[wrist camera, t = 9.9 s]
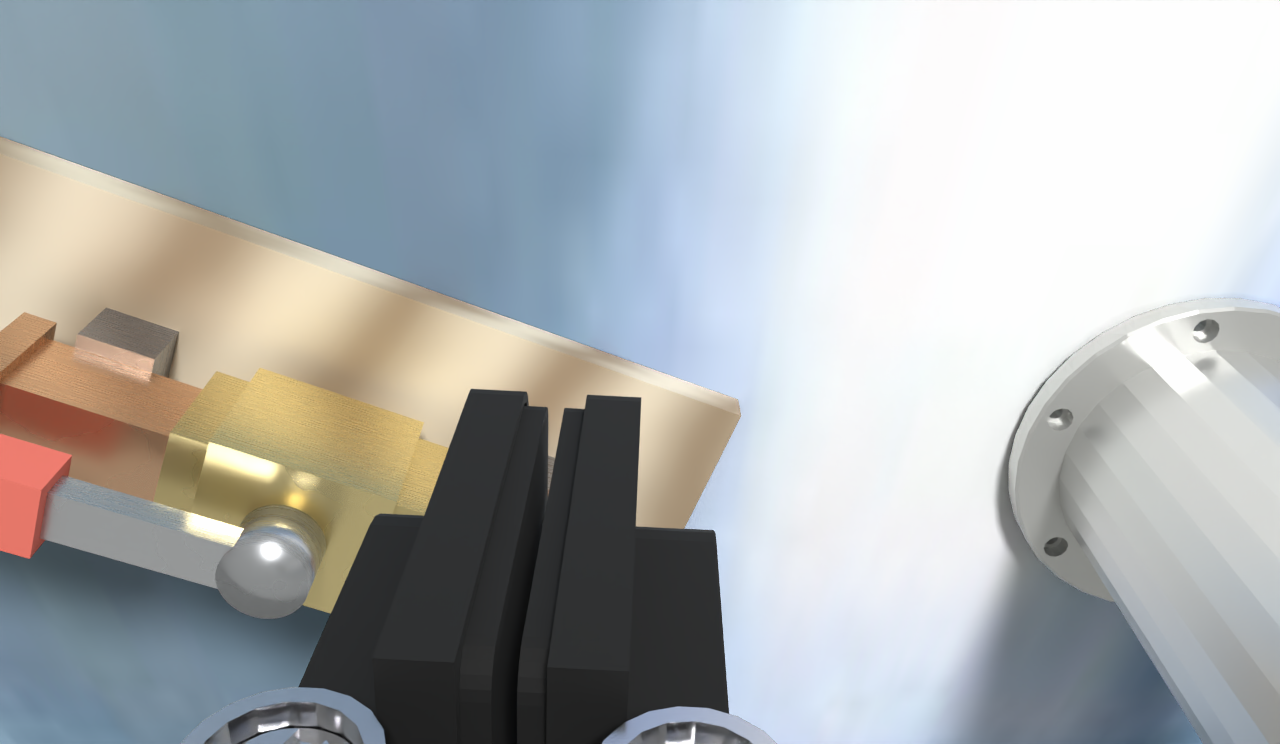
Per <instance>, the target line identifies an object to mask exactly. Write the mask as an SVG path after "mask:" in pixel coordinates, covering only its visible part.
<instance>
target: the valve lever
mask: <svg viewBox="0 0 1280 744" xmlns="http://www.w3.org/2000/svg"><path fill="white" fill-rule="evenodd" d="M71 459H72V455H70V454H67V453H63V452H60V451H57V450H53V449H50V448H47V447H43V446H40V445H37V444H33V443H30V442H27V441H23V440H20V439H16V438H13V437H10V436H6V435H3V434H0V551H3V552H7V553H11V554H14V555H18V556H21V557H25V558H28V559H30V558H31V557H32V556H33V554H34V553H35V552H36V551H37V550H38V548H39V547H40V546H41V545H42V543H43V542H44V541H45V540H48V541H51V542H55V543H58V544H62V545H65V546H69V547H72V548H76V549H79V550H83V551H86V552H90V553H93V554H97V555H100V556H104V557H107V558H111V559H114V560H118V561H121V562H125V563H128V564H132V565H135V566H139V567H142V568H146V569H149V570H153V571H156V572H160V573H163V574H167V575H171V576H174V577H178V578H181V579H185V580H188V581H192V582H195V583H199V584H202V585H206V586H209V587H213V588H216V589H218V590H219V592H220V594H221V595H222V597H223V598H224V599H225V600H226V602H227V603H229V604H230V605H231V606H232V607H233V608H235V609H236V610H238V611H240V612H242V613H244V614H246V615H249V616H252V617H256V618H262V619H276V618H281V617H285V616H287V615H290V614H292V613H293V612H295V611H296V610H298V609H299V608H300V607H301V606H302V605H303V603H304V602H305V600H306V598H307V595H308V593H309V590H310V588H311V586H312V583H313V581H314V578H315V576H316V574H317V571H318V569H319V566H320V564H321V562H322V559H323V557H324V554H325V551H326V540H325V536H324V533H323V531H322V529H321V528H320V526H319V525H318V524H317V522H316V521H315V520H314V519H313V518H312V517H310V516H309V515H308V514H306V513H304V512H303V511H301V510H299V509H296V508H293V507H290V506H286V505H267V506H262V507H259V508H257V509H255V510H253V511H252V512H250V513H249V514H248V515H247V516H246V517H245V518H244V519H243V520H242V522H241V524H240V526H239V527H237V526H233V525H230V524H226V523H223V522H220V521H216V520H213V519H210V518H206V517H203V516H199V515H196V514H193V513H189V512H186V511H183V510H179V509H176V508H172V507H169V506H166V505H162V504H159V503H156V502H152V501H149V500H145V499H142V498H139V497H135V496H132V495H129V494H125V493H122V492H118V491H115V490H112V489H108V488H105V487H101V486H98V485H95V484H91V483H88V482H85V481H81V480H78V479H74V478H71V477H68V476H69V471H70V465H71Z"/></svg>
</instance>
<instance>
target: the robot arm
mask: <svg viewBox="0 0 1280 744" xmlns="http://www.w3.org/2000/svg"><path fill="white" fill-rule="evenodd" d="M640 419H641V397H623V396H604V395H587V397H586V403H585V409H577V408H564V412H563V418H562V423H561V429H560V434H559V440H558V445H557V450H556V456H555V461H554V467H553V472H552V478H551V483H550V489H549V494H548V424H549V423H548V407H538V406H529V402H528V394H527V392H525V391H505V390H486V389H471V390H470V392H469V394H468V397H467V399H466V402H465V405H464V408H463V410H462V413H461V416H460V419H459V421H458V424H457V427H456V430H455V432H454V435H453V438H452V440H451V443H450V446H449V449H448V451H447V454H446V457H445V460H444V462H443V465H442V468H441V471H440V473H439V476H438V479H437V482H436V484H435V487H434V490H433V493H432V495H431V498H430V501H429V504H428V506H427V509H426V512H425V515H424V516H421V515H402V514H382V513H380V514H378V515H376V516H375V517H374V519H373V521H372V522H371V524H370V526H369V528H368V530H367V533H366V535H365V537H364V539H363V542H362V544H361V546H360V549H359V551H358V553H357V555H356V558H355V560H354V562H353V564H352V567H351V569H350V571H349V574H348V576H347V578H346V580H345V583H344V585H343V587H342V589H341V592H340V594H339V596H338V598H337V601H336V603H335V605H334V608H333V610H332V612H331V614H330V617H329V619H328V621H327V623H326V626H325V628H324V630H323V633H322V635H321V637H320V639H319V642H318V644H317V646H316V648H315V651H314V653H313V655H312V658H311V660H310V662H309V664H308V667H307V669H306V671H305V673H304V676H303V678H302V680H301V683H300V685H299V687H291V688H285V689H278V690H272V691H266V692H261V693H258V694H255V695H253V696H250V697H247V698H245V699H242V700H239V701H237V702H234V703H231V704H229V705H228V706H226V707H224V708H223V709H221V710H220V711H218V712H216V713H215V714H213V715H211V716H210V717H208V718H207V719H205V720H203V721H202V722H201V723H200V724H199V725H198V726H197V727H196V728H195V729H194V730H193V731H192V732H191V733H190V734H189V735H188V736H187V737H186V738H185V739H184V740H183V741H182V742H181V743H180V744H777V743H776V742H775V741H774V740H773V739H772V738H771V737H770V736H769V735H768V734H767V733H765V732H764V731H763V730H761V729H759V728H758V727H756V726H754V725H752V724H750V723H749V722H747V721H745V720H743V719H741V718H740V717H738V716H734V715H731V714H729V708H728V694H727V681H726V667H725V653H724V640H723V626H722V613H721V599H720V586H719V572H718V558H717V545H716V536H715V532H714V530H697V529H678V528H658V527H638V526H636V509H637V487H638V464H639V442H640ZM1008 491H1009V496H1010V500H1011V505H1012V509H1013V513H1014V517H1015V519H1016V521H1017V523H1018V525H1019V527H1020V529H1021V531H1022V533H1023V535H1024V537H1025V539H1026V541H1027V542H1028V544H1029V546H1030V547H1031V549H1032V550H1033V552H1034V554H1035V555H1036V557H1037V558H1038V559H1039V560H1040V562H1042V563H1043V564H1044V565H1045V566H1046V567H1047V568H1048V569H1049V570H1050V571H1051V572H1052V573H1053V574H1055V575H1056V576H1057V577H1058V578H1059V579H1060V580H1062V581H1064V582H1066V583H1067V584H1069V585H1071V586H1072V587H1074V588H1076V589H1078V590H1079V591H1081V592H1083V593H1086V594H1089V595H1092V596H1095V597H1098V598H1100V599H1103V600H1106V601H1109V602H1115V603H1116V604H1117V606H1118V608H1119V609H1120V611H1121V612H1122V614H1123V616H1124V617H1125V619H1126V620H1127V622H1128V624H1129V625H1130V627H1131V628H1132V630H1133V632H1134V633H1135V635H1136V636H1137V638H1138V640H1139V641H1140V643H1141V644H1142V646H1143V648H1144V649H1145V651H1146V653H1147V654H1148V656H1149V657H1150V659H1151V661H1152V662H1153V664H1154V665H1155V667H1156V669H1157V670H1158V672H1159V673H1160V675H1161V677H1162V678H1163V680H1164V681H1165V683H1166V685H1167V686H1168V688H1169V689H1170V691H1171V693H1172V694H1173V696H1174V697H1175V699H1176V701H1177V702H1178V704H1179V706H1180V707H1181V709H1182V710H1183V712H1184V714H1185V715H1186V717H1187V718H1188V720H1189V722H1190V723H1191V725H1192V726H1193V728H1194V730H1195V731H1196V733H1197V734H1198V736H1199V738H1200V739H1201V741H1202V742H1203V744H1280V307H1278V306H1276V305H1273V304H1269V303H1263V302H1258V301H1253V300H1247V299H1242V298H1203V299H1197V300H1191V301H1185V302H1179V303H1174V304H1168V305H1165V306H1163V307H1160V308H1157V309H1154V310H1151V311H1148V312H1145V313H1142V314H1139V315H1136V316H1134V317H1132V318H1130V319H1128V320H1126V321H1124V322H1122V323H1120V324H1118V325H1116V326H1114V327H1113V328H1111V329H1109V330H1107V331H1105V332H1103V333H1101V334H1100V335H1098V336H1097V337H1096V338H1094V339H1093V340H1092V341H1090V342H1089V343H1088V344H1086V345H1085V346H1083V347H1082V348H1081V349H1079V350H1078V351H1077V352H1075V353H1074V354H1073V355H1071V356H1070V357H1069V358H1068V359H1067V360H1066V361H1065V362H1064V364H1063V365H1062V366H1061V367H1060V368H1059V369H1058V370H1057V371H1056V372H1055V373H1054V374H1053V375H1052V376H1051V377H1050V378H1049V379H1048V380H1047V381H1046V382H1045V384H1044V385H1043V387H1042V388H1041V390H1040V391H1039V392H1038V394H1037V395H1036V397H1035V398H1034V400H1033V401H1032V402H1031V404H1030V405H1029V407H1028V409H1027V411H1026V413H1025V415H1024V417H1023V420H1022V422H1021V424H1020V426H1019V428H1018V431H1017V433H1016V435H1015V439H1014V443H1013V447H1012V452H1011V456H1010V460H1009V479H1008Z"/></svg>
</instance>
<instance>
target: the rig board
mask: <svg viewBox="0 0 1280 744" xmlns="http://www.w3.org/2000/svg"><path fill="white" fill-rule="evenodd" d="M106 307H107V308H110V309H113V310H116V311H119V312H121V313H124V314H127V315H130V316H133V317H136V318H139V319H142V320H145V321H148V322H151V323H154V324H157V325H160V326H163V327H166V328H169V329H172V330H175V331H178V332H179V334H178V338H177V343H176V347H175V351H174V355H173V360H172V364H171V368H170V372H169V377H168V378H170V379H173V380H176V381H179V382H182V383H185V384H188V385H191V386H194V387H197V388H200V389H203V388H204V387H205V386H206V384H207V383H208V382H209V380H210V379H211V378H212V376H213V375H214V374H215V372H216V371H218V372H221V373H224V374H227V375H230V376H233V377H236V378H239V379H242V380H245V381H248V382H250V381H251V379H252V378H253V377H254V375H255V374H256V372H257V371H258V369H259V368H263V369H266V370H269V371H272V372H275V373H278V374H281V375H284V376H287V377H290V378H293V379H296V380H299V381H302V382H305V383H308V384H311V385H314V386H317V387H320V388H323V389H326V390H329V391H332V392H335V393H337V394H340V395H343V396H346V397H349V398H352V399H355V400H358V401H361V402H364V403H367V404H370V405H373V406H376V407H379V408H382V409H385V410H388V411H391V412H394V413H397V414H400V415H403V416H406V417H409V418H412V419H415V420H418V421H421V422H424V424H423V427H422V430H421V433H420V436H419V438H420V439H423V440H426V441H429V442H432V443H435V444H438V445H441V446H444V447H447V448H449V446H450V443H451V440H452V438H453V435H454V432H455V430H456V427H457V424H458V421H459V419H460V416H461V413H462V410H463V408H464V405H465V402H466V399H467V397H468V394H469V392H470V390H471V389H486V390H505V391H525V392H527V394H528V402H529V406H538V407H548V423H549V424H548V456H551V457H554V458H555V456H556V450H557V445H558V440H559V434H560V429H561V423H562V418H563V412H564V408H577V409H585V403H586V397H587V395H604V396H623V397H641V419H640V442H639V464H638V487H637V509H636V526H638V527H658V528H678V529H684V528H685V526H686V524H687V522H688V520H689V518H690V516H691V514H692V512H693V510H694V508H695V506H696V504H697V502H698V500H699V498H700V496H701V494H702V492H703V490H704V488H705V486H706V484H707V482H708V480H709V478H710V476H711V474H712V472H713V470H714V468H715V466H716V464H717V462H718V460H719V459H720V457H721V455H722V453H723V451H724V449H725V447H726V445H727V443H728V441H729V439H730V437H731V435H732V433H733V431H734V429H735V427H736V425H737V423H738V421H739V419H740V417H741V413H740V408H739V402H738V399H735V398H732V397H729V396H726V395H724V394H721V393H718V392H715V391H712V390H710V389H707V388H704V387H701V386H698V385H696V384H693V383H690V382H687V381H684V380H681V379H679V378H676V377H673V376H670V375H667V374H665V373H662V372H659V371H656V370H653V369H651V368H648V367H645V366H642V365H639V364H637V363H634V362H631V361H628V360H625V359H623V358H620V357H617V356H614V355H611V354H609V353H606V352H603V351H600V350H597V349H595V348H592V347H589V346H586V345H583V344H581V343H578V342H575V341H572V340H569V339H567V338H564V337H561V336H558V335H555V334H552V333H550V332H547V331H544V330H541V329H538V328H536V327H533V326H530V325H527V324H524V323H522V322H519V321H516V320H513V319H510V318H508V317H505V316H502V315H499V314H496V313H494V312H491V311H488V310H485V309H482V308H480V307H477V306H474V305H471V304H468V303H466V302H463V301H460V300H457V299H454V298H452V297H449V296H446V295H443V294H440V293H438V292H435V291H432V290H429V289H426V288H423V287H421V286H418V285H415V284H412V283H409V282H407V281H404V280H401V279H398V278H395V277H393V276H390V275H387V274H384V273H381V272H379V271H376V270H373V269H370V268H367V267H365V266H362V265H359V264H356V263H353V262H351V261H348V260H345V259H342V258H339V257H337V256H334V255H331V254H328V253H325V252H323V251H320V250H317V249H314V248H311V247H308V246H306V245H303V244H300V243H297V242H294V241H292V240H289V239H286V238H283V237H280V236H278V235H275V234H272V233H269V232H266V231H264V230H261V229H258V228H255V227H252V226H250V225H247V224H244V223H241V222H238V221H236V220H233V219H230V218H227V217H224V216H222V215H219V214H216V213H213V212H210V211H208V210H205V209H202V208H199V207H196V206H194V205H191V204H188V203H185V202H182V201H179V200H177V199H174V198H171V197H168V196H165V195H163V194H160V193H157V192H154V191H151V190H149V189H146V188H143V187H140V186H137V185H135V184H132V183H129V182H126V181H123V180H121V179H118V178H115V177H112V176H109V175H107V174H104V173H101V172H98V171H95V170H93V169H90V168H87V167H84V166H81V165H79V164H76V163H73V162H70V161H67V160H65V159H62V158H59V157H56V156H53V155H50V154H48V153H45V152H42V151H39V150H36V149H34V148H31V147H28V146H25V145H22V144H20V143H17V142H14V141H11V140H8V139H6V138H3V137H0V331H1V330H3V329H4V328H5V327H6V326H8V325H9V324H10V323H11V322H13V321H14V320H15V319H16V318H18V317H19V316H20V315H21V314H22V313H24V312H26V313H29V314H32V315H35V316H38V317H41V318H44V319H47V320H50V321H53V322H56V323H57V325H56V330H55V336H54V341H57V342H60V343H63V344H66V345H69V346H72V347H75V344H76V339H77V334H78V333H79V332H80V331H81V330H82V329H83V328H84V327H85V326H87V325H88V324H89V323H90V322H91V321H92V320H93V319H94V318H95V317H96V316H97V315H98V314H100V313H101V312H102V311H103V310H104V309H105V308H106Z"/></svg>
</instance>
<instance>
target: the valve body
mask: <svg viewBox="0 0 1280 744" xmlns="http://www.w3.org/2000/svg"><path fill="white" fill-rule="evenodd" d="M56 325H57V323H56V322H53V321H50V320H47V319H44V318H41V317H38V316H35V315H32V314H29V313H26V312H24V313H22V314H21V315H20V316H19V317H18V318H16V319H15V320H14V321H13V322H11V323H10V324H9V325H8V326H6V327H5V328H4V329H3V330H1V331H0V434H3V435H6V436H10V437H13V438H16V439H20V440H23V441H27V442H30V443H33V444H37V445H40V446H43V447H47V448H50V449H53V450H57V451H60V452H63V453H67V454H70V455H72V459H71V465H70V471H69V476H68V477H71V478H74V479H78V480H81V481H85V482H88V483H91V484H95V485H98V486H101V487H105V488H108V489H112V490H115V491H118V492H122V493H125V494H129V495H132V496H135V497H139V498H142V499H145V500H149V501H152V502H156V503H159V504H162V505H166V506H169V507H172V508H176V509H179V510H183V511H186V512H189V513H193V514H196V515H199V516H203V517H206V518H210V519H213V520H216V521H220V522H223V523H226V524H230V525H233V526H237V527H239V526H240V524H241V522H242V520H243V519H244V518H245V517H246V516H247V515H248V514H249V513H250V512H252V511H253V510H255V509H257V508H259V507H262V506H267V505H286V506H290V507H293V508H296V509H299V510H301V511H303V512H304V513H306V514H308V515H309V516H310V517H312V518H313V519H314V520H315V521H316V522H317V524H318V525H319V526H320V528H321V529H322V531H323V533H324V536H325V540H326V551H325V554H324V557H323V559H322V562H321V564H320V566H319V569H318V571H317V574H316V576H315V578H314V581H313V583H312V586H311V588H310V590H309V593H308V595H307V598H306V600H305V602H304V603H303V605H304V606H307V607H310V608H314V609H317V610H321V611H324V612H327V613H331V612H332V610H333V608H334V605H335V603H336V601H337V598H338V596H339V594H340V592H341V589H342V587H343V585H344V583H345V580H346V578H347V576H348V574H349V571H350V569H351V567H352V564H353V562H354V560H355V558H356V555H357V553H358V551H359V549H360V546H361V544H362V542H363V539H364V537H365V535H366V533H367V530H368V528H369V526H370V524H371V522H372V521H373V519H374V517H375V516H376V515H378V514H380V513H382V514H402V515H421V516H424V515H425V512H426V509H427V506H428V504H429V501H430V498H431V495H432V493H433V490H434V487H435V484H436V482H437V479H438V476H439V473H440V471H441V468H442V465H443V462H444V460H445V457H446V454H447V451H448V449H449V448H447V447H444V446H441V445H438V444H435V443H432V442H429V441H426V440H423V439H420V438H419V436H420V433H421V430H422V427H423V424H424V422H421V421H418V420H415V419H412V418H409V417H406V416H403V415H400V414H397V413H394V412H391V411H388V410H385V409H382V408H379V407H376V406H373V405H370V404H367V403H364V402H361V401H358V400H355V399H352V398H349V397H346V396H343V395H340V394H337V393H335V392H332V391H329V390H326V389H323V388H320V387H317V386H314V385H311V384H308V383H305V382H302V381H299V380H296V379H293V378H290V377H287V376H284V375H281V374H278V373H275V372H272V371H269V370H266V369H263V368H259V369H258V371H257V372H256V374H255V375H254V377H253V378H252V379H251V381H250V382H248V381H245V380H242V379H239V378H236V377H233V376H230V375H227V374H224V373H221V372H218V371H216V372H215V374H214V375H213V376H212V378H211V379H210V380H209V382H208V383H207V384H206V386H205V387H204V388H203V389H200V388H197V387H194V386H191V385H188V384H185V383H182V382H179V381H176V380H173V379H170V378H168V377H169V372H170V368H171V364H172V360H173V355H174V351H175V347H176V343H177V338H178V334H179V332H178V331H175V330H172V329H169V328H166V327H163V326H160V325H157V324H154V323H151V322H148V321H145V320H142V319H139V318H136V317H133V316H130V315H127V314H124V313H121V312H119V311H116V310H113V309H110V308H107V307H106V308H105V309H104V310H103V311H102V312H101V313H100V314H98V315H97V316H96V317H95V318H94V319H93V320H92V321H91V322H90V323H89V324H88V325H87V326H85V327H84V328H83V329H82V330H81V331H80V332H79V333H78V334H77V339H76V344H75V347H72V346H69V345H66V344H63V343H60V342H57V341H54V336H55V330H56ZM554 461H555V458H554V457H551V456H548V494H549V489H550V483H551V478H552V472H553V467H554Z"/></svg>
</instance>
